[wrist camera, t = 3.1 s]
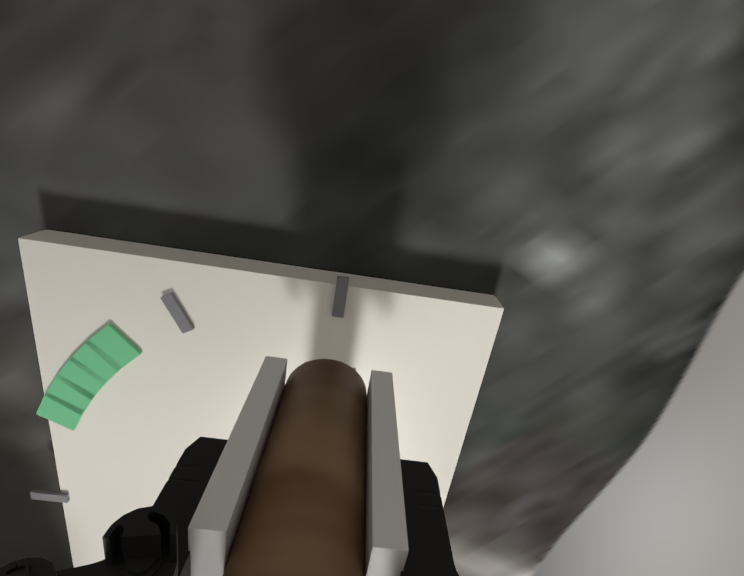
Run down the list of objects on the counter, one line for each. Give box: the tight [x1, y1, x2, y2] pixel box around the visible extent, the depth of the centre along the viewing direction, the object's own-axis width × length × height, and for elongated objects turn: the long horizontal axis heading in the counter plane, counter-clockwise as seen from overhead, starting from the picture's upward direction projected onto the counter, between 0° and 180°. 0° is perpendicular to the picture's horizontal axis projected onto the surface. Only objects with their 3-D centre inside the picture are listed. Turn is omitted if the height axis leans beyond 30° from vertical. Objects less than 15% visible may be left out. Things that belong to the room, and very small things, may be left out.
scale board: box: [18, 229, 504, 567], centre depth 22 cm, size 24×21×2 cm
